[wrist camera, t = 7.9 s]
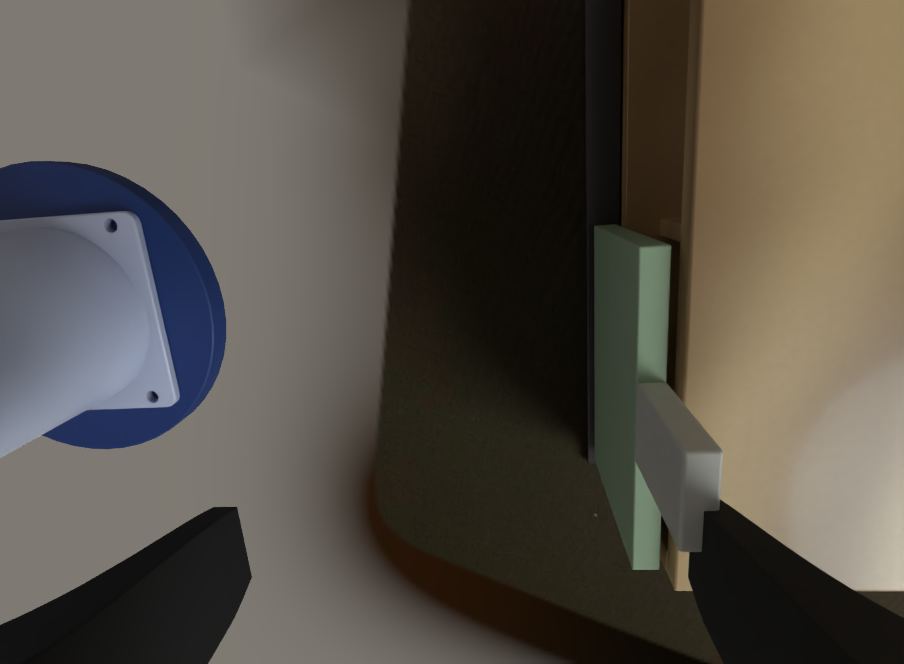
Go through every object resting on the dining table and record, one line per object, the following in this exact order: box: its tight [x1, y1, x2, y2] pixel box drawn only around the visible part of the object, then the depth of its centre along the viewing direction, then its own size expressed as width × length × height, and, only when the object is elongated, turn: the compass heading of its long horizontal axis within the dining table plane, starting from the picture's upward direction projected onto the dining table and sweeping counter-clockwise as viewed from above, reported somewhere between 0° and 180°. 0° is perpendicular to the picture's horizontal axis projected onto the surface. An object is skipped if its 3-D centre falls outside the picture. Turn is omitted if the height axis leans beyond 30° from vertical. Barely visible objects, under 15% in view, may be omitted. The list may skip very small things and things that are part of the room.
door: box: [594, 224, 723, 570], centre depth 16 cm, size 1×10×10 cm, turn 4°
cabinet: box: [584, 0, 904, 591], centre depth 16 cm, size 13×20×8 cm, turn 4°
